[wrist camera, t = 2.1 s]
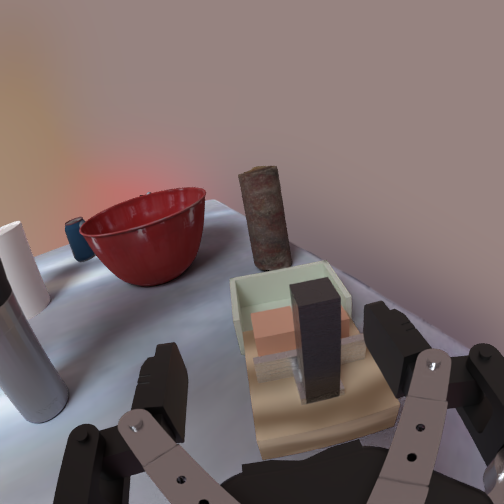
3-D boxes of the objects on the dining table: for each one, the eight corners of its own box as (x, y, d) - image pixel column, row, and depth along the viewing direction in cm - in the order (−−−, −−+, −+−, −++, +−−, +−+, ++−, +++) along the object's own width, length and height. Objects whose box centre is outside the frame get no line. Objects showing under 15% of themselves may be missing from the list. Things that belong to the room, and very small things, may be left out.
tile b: (349, 338, 37) (349, 318, 35) (309, 347, 36) (307, 328, 35) (336, 315, 41) (336, 296, 40) (299, 323, 41) (297, 304, 40)
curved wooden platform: (394, 426, 28) (400, 404, 26) (262, 460, 27) (256, 441, 26) (345, 333, 43) (346, 310, 42) (247, 354, 43) (242, 331, 41)
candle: (266, 279, 61) (249, 173, 52) (247, 266, 67) (230, 170, 58) (299, 265, 64) (287, 164, 55) (278, 254, 70) (265, 161, 61)
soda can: (100, 253, 89) (88, 215, 84) (84, 263, 84) (70, 225, 79) (87, 252, 92) (76, 216, 87) (71, 262, 87) (59, 225, 82)
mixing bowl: (79, 298, 65) (54, 235, 59) (149, 244, 89) (134, 192, 82) (177, 314, 54) (151, 231, 48) (239, 244, 78) (228, 181, 72)
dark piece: (379, 384, 29) (390, 285, 24) (263, 413, 29) (241, 317, 24) (361, 352, 34) (365, 258, 29) (257, 376, 34) (237, 283, 29)
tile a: (300, 349, 36) (299, 329, 35) (258, 357, 36) (254, 338, 35) (292, 324, 41) (290, 305, 40) (254, 332, 41) (250, 313, 40)
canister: (-2, 321, 60) (-35, 247, 51) (30, 293, 72) (3, 224, 63) (26, 326, 56) (-11, 243, 48) (60, 294, 68) (30, 217, 60)
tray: (351, 331, 43) (351, 296, 41) (241, 355, 43) (233, 321, 40) (328, 291, 54) (326, 260, 51) (236, 309, 53) (229, 278, 51)
